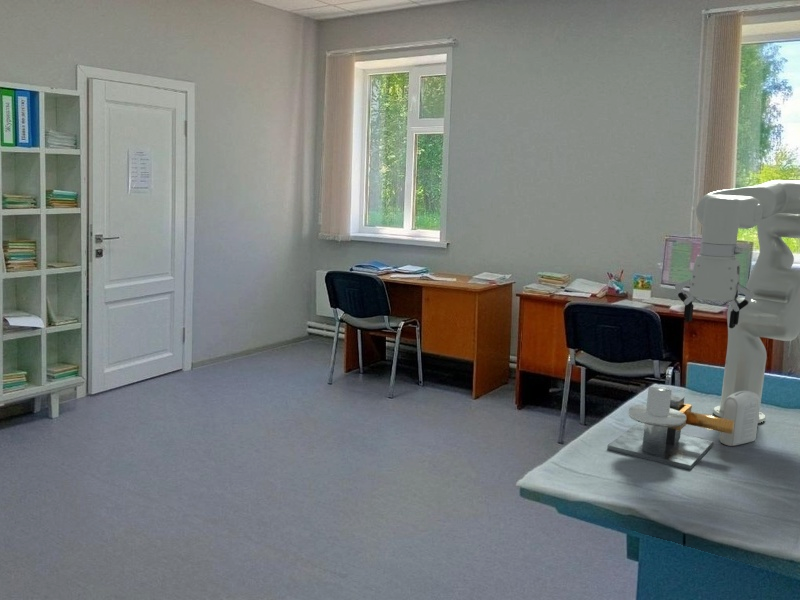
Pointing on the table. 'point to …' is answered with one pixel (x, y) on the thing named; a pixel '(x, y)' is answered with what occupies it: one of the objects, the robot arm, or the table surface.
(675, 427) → the ringlock standard
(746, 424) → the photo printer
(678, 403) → the grey rectangular block
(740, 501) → the table surface
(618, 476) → the table surface
